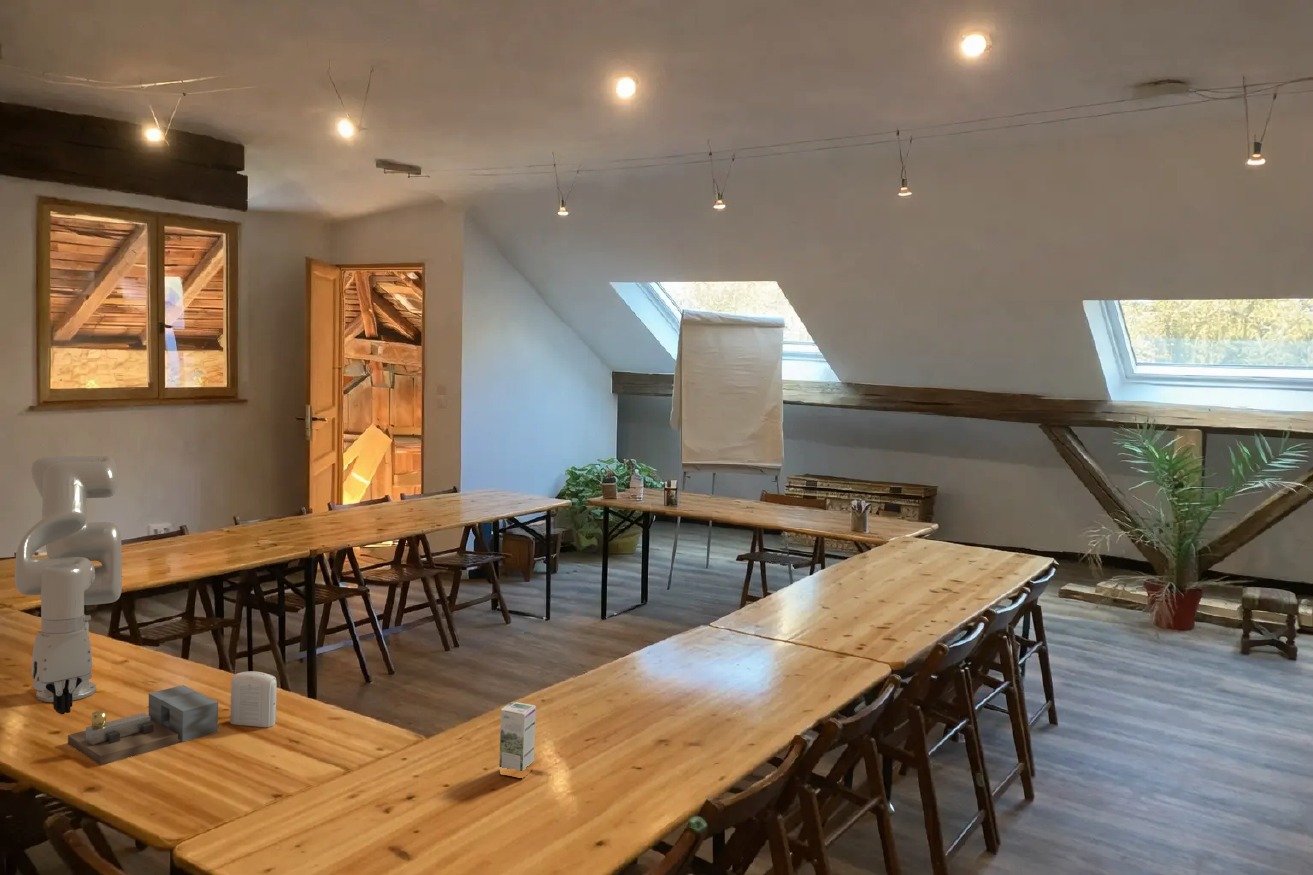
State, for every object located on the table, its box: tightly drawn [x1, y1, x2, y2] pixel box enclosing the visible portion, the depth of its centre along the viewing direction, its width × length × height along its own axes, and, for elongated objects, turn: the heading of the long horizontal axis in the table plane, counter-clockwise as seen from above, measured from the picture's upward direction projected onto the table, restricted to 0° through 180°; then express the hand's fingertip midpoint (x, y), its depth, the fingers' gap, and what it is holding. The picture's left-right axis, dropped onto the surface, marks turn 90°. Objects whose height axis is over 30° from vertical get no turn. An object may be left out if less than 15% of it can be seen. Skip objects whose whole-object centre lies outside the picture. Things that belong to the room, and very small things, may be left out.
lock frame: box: [67, 684, 219, 766], centre depth 214 cm, size 25×16×7 cm, turn 142°
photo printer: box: [229, 670, 278, 728], centre depth 224 cm, size 10×4×12 cm, turn 86°
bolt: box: [85, 710, 150, 745], centre depth 209 cm, size 12×3×6 cm, turn 142°
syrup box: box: [498, 701, 537, 771], centre depth 204 cm, size 6×6×14 cm
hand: (62, 711), depth 200 cm, fingers closed
